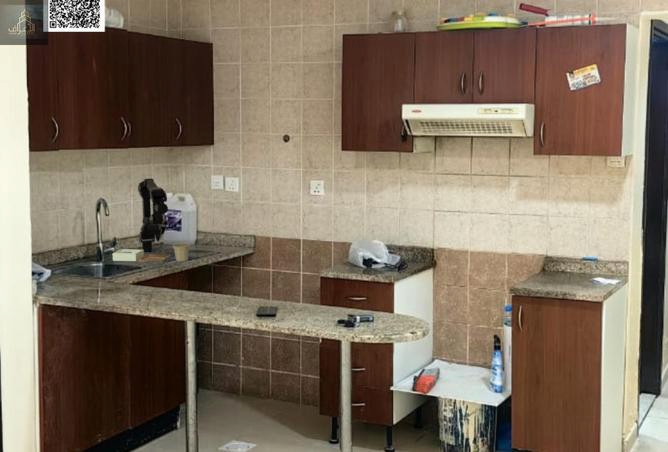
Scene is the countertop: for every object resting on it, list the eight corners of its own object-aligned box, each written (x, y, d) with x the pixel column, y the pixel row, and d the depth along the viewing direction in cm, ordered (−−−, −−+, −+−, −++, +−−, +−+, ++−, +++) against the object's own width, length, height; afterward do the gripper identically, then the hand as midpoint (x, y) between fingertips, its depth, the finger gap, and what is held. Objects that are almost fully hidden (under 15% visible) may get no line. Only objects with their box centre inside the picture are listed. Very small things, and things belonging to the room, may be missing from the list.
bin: (121, 257, 547) (121, 249, 547) (143, 257, 546) (143, 249, 545) (112, 261, 535) (112, 253, 534) (135, 262, 533) (135, 253, 532)
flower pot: (170, 262, 532) (169, 246, 530) (177, 259, 541) (177, 243, 539) (186, 262, 529) (185, 246, 528) (193, 259, 538) (193, 244, 537)
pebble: (156, 240, 539) (155, 233, 538) (163, 240, 539) (163, 233, 539) (155, 242, 535) (154, 234, 534) (162, 242, 535) (162, 234, 535)
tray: (147, 256, 548) (147, 254, 548) (171, 257, 546) (171, 254, 546) (137, 262, 532) (136, 259, 532) (162, 262, 530) (162, 260, 529)
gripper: (149, 209, 545) (150, 237, 547) (138, 214, 527) (139, 242, 529) (168, 209, 543) (169, 237, 546) (158, 214, 525) (159, 243, 527)
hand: (159, 240), depth 537 cm, fingers closed on pebble, 4 cm apart
